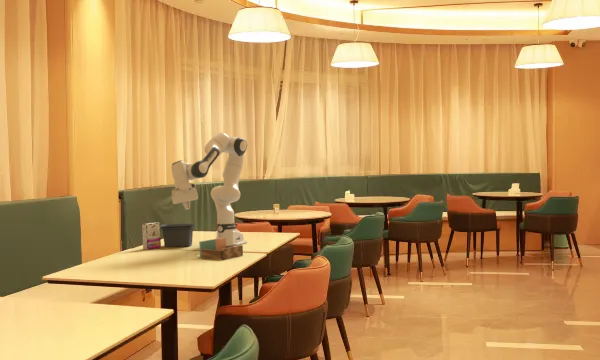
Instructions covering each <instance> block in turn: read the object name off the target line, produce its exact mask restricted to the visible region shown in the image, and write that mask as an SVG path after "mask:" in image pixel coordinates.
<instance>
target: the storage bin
mask: <svg viewBox="0 0 600 360" xmlns="http://www.w3.org/2000/svg"><path fill="white" fill-rule="evenodd" d="M195 226H196V225H195V223H188V222H187V223H166V224H160V230H162V236H163V243H164V245H163V246H164V247H166V248H170V247H171V248H172V247H173V248H174V247H175V248H177V247H190V246H192V245H193V238H194V236H193V235H194V234H193V232H194V228H195Z"/></svg>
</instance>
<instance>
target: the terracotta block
mask: <svg viewBox="0 0 600 360" xmlns="http://www.w3.org/2000/svg"><path fill="white" fill-rule="evenodd" d="M215 239H216V250H221V249H224V248H226V238H215Z"/></svg>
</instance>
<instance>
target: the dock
mask: <svg viewBox="0 0 600 360" xmlns="http://www.w3.org/2000/svg"><path fill="white" fill-rule="evenodd" d="M243 245H244V244H241V245H234V246H226V248H224V249H221V250H210V249H201V257H200V258H202V259H209V260H210V259H211V260H221V261H223V260H229V259H232V258H233V257H234V258H237V257H242V255H243V256H244V253H243V252H244V249H243V248H244V247H243Z"/></svg>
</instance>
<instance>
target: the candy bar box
mask: <svg viewBox="0 0 600 360" xmlns="http://www.w3.org/2000/svg"><path fill="white" fill-rule="evenodd" d="M141 229H142V230H141V231H142V232H141V233H142V249H143V250H146V251H150V250H155V249H161V248H162V245H161V244H162V242H161V239H162V238H161V223H160V222H149V223H142V224H141Z"/></svg>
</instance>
